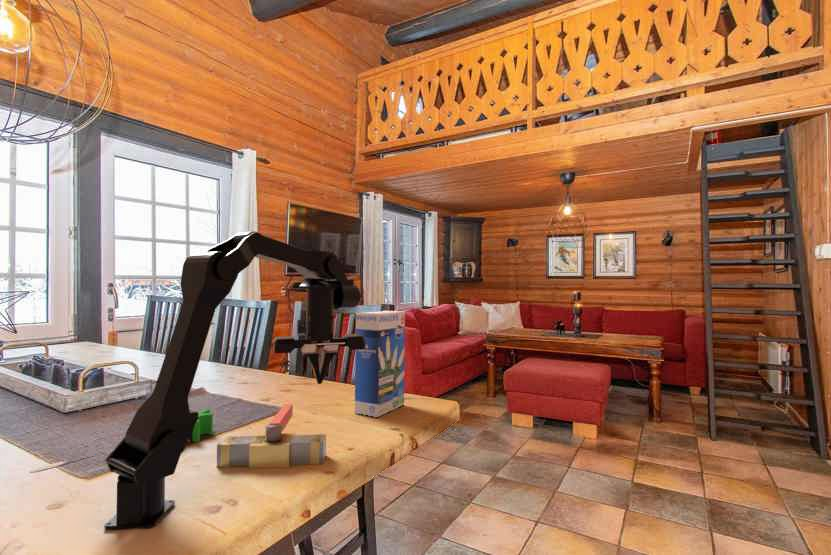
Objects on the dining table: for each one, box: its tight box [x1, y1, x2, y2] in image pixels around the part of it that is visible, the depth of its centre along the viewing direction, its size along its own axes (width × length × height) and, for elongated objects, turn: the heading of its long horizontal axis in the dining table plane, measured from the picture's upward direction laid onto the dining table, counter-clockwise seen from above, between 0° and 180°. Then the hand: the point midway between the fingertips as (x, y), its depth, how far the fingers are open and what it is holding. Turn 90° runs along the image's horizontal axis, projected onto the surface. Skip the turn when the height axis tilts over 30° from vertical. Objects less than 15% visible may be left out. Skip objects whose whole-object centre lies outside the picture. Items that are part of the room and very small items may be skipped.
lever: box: [265, 403, 294, 441], centre depth 86 cm, size 14×3×3 cm, turn 5°
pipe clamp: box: [188, 408, 214, 443], centre depth 92 cm, size 11×4×5 cm, turn 173°
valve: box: [216, 432, 327, 469], centre depth 80 cm, size 6×19×4 cm, turn 95°
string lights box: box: [354, 310, 406, 418], centre depth 113 cm, size 13×8×26 cm, turn 150°
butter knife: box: [29, 460, 66, 473], centre depth 85 cm, size 1×27×3 cm
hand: (319, 383), depth 91 cm, fingers closed
